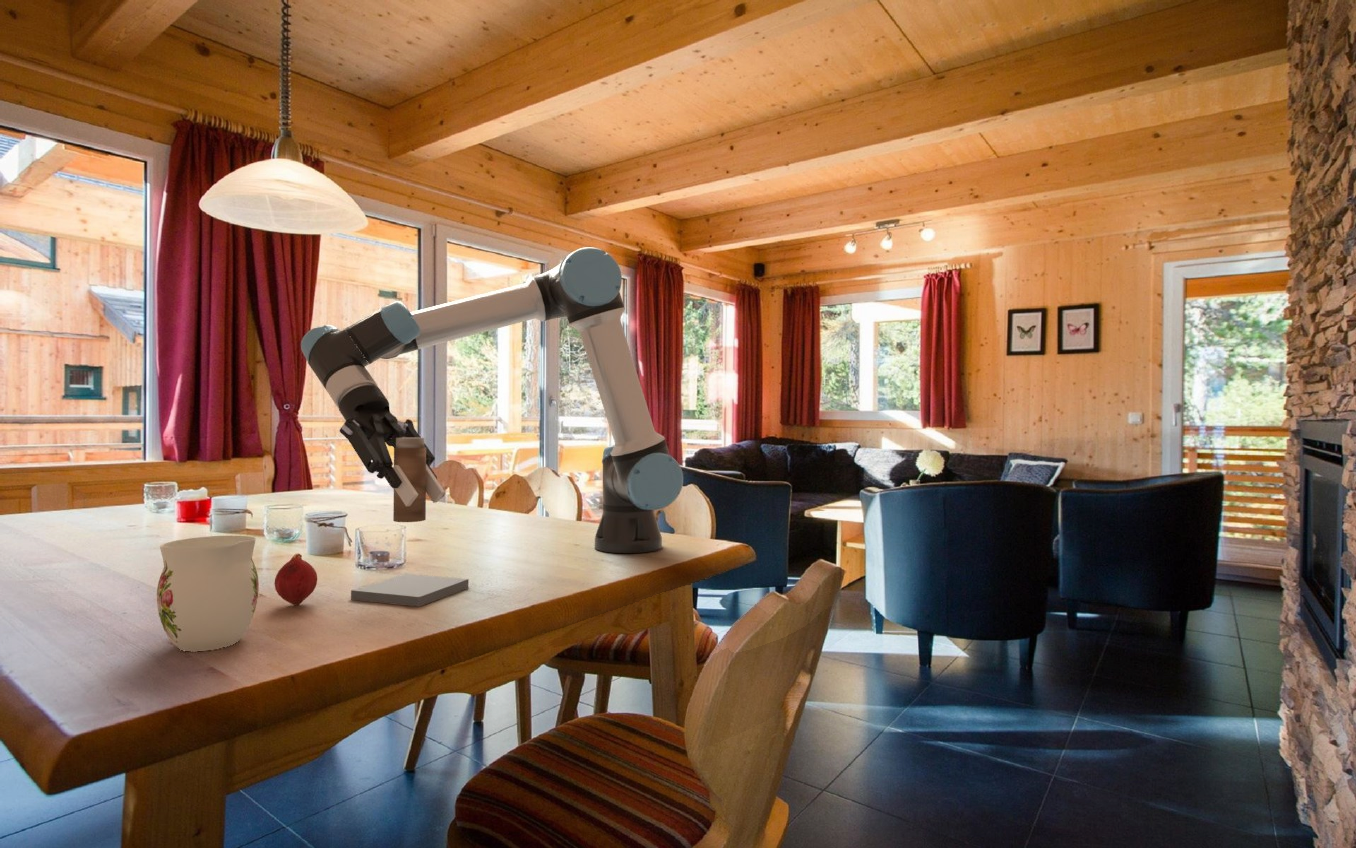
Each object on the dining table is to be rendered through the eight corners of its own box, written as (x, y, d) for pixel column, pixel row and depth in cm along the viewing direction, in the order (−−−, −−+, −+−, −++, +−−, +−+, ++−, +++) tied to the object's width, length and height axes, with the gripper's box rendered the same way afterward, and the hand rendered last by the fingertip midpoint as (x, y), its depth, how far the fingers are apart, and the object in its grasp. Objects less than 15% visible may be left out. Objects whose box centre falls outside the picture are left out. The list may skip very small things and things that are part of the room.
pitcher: (236, 619, 104) (236, 524, 104) (275, 648, 91) (275, 540, 91) (142, 635, 96) (142, 533, 96) (171, 670, 84) (171, 551, 83)
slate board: (405, 582, 128) (405, 573, 128) (468, 587, 124) (468, 579, 124) (351, 599, 116) (351, 590, 116) (419, 606, 112) (419, 597, 112)
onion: (304, 610, 109) (304, 557, 109) (266, 610, 109) (266, 557, 109) (324, 600, 115) (324, 550, 115) (288, 600, 115) (288, 550, 115)
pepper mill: (407, 517, 123) (407, 437, 123) (431, 518, 121) (432, 437, 121) (386, 521, 118) (387, 438, 118) (412, 523, 117) (412, 438, 116)
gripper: (390, 413, 135) (455, 508, 127) (300, 412, 119) (368, 520, 111) (411, 385, 132) (477, 479, 125) (321, 380, 116) (392, 488, 109)
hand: (426, 498), depth 118 cm, fingers closed on pepper mill, 5 cm apart
